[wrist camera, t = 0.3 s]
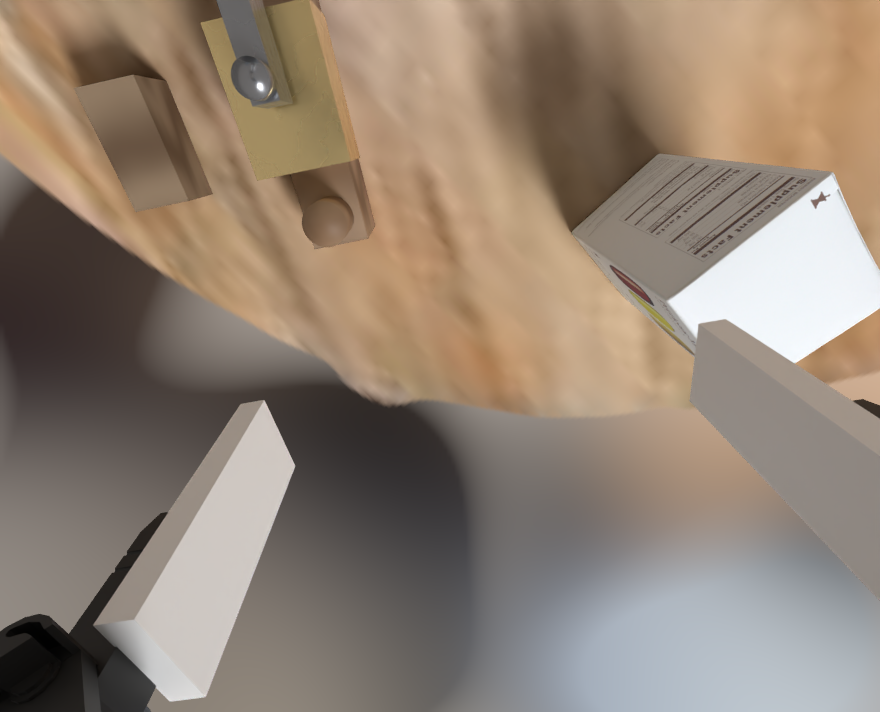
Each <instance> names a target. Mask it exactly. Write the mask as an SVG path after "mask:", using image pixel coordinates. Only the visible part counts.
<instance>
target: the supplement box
mask: <svg viewBox="0 0 880 712" xmlns="http://www.w3.org/2000/svg"><path fill="white" fill-rule="evenodd" d="M572 234H573V236H574V237H575V238H576V239H577V241H578V242H579V243H580V244H581V246H582V247H583V248H584V249H585V251H586V252H587V253H588V254H589V256H590V257H591V258H592V259H593V260H594V262H595V263H596V264H597V265H598V267H599V268H600V269H601V270H602V272H603V273H604V274H605V275H606V276H607V278H608V279H609V280H610V281H611V282H612V284H613V285H614V286H615V287H616V288H617V290H618V291H619V292H620V293H621V294H622V296H623V297H624V298H625V299H626V300H627V301H629V302H630V303H631V304H632V305H634V306H635V307H636V308H637V309H638V310H639V311H640V312H642V313H643V314H644V315H645V316H646V317H648V318H649V319H650V320H651V321H652V322H654V323H655V324H656V325H657V326H658V327H659V328H661V329H662V330H663V331H664V332H665V333H666V334H668V335H669V336H670V337H671V338H672V339H673V340H675V341H676V342H677V343H678V344H679V345H681V346H682V347H683V348H684V349H685V350H686V351H688V352H689V353H690V354H691V355H692V356H693V357H695V350H696V341H697V333H698V324H700V323H706V322H711V321H717V320H723V319H727V320H728V321H730V322H731V323H733V324H734V325H736V326H737V327H739V328H740V329H742V330H744V331H745V332H747V333H748V334H750V335H751V336H753V337H754V338H756V339H757V340H759V341H761V342H762V343H764V344H765V345H767V346H768V347H770V348H771V349H773V350H774V351H776V352H778V353H779V354H781V355H782V356H784V357H785V358H787V359H788V360H790V361H791V362H793V363H796V362H798V361H799V360H801V359H802V358H804V357H805V356H807V355H808V354H810V353H812V352H813V351H815V350H816V349H818V348H819V347H821V346H822V345H824V344H825V343H827V342H829V341H830V340H832V339H833V338H835V337H836V336H838V335H840V334H841V333H843V332H844V331H846V330H847V329H849V328H850V327H852V326H853V325H855V324H857V323H858V322H860V321H861V320H863V319H864V318H866V317H867V316H869V315H870V314H872V313H873V312H875V311H876V310H878V309H879V308H880V270H879V269H878V267H877V265H876V263H875V262H874V260H873V258H872V256H871V254H870V252H869V250H868V248H867V246H866V244H865V242H864V240H863V238H862V236H861V234H860V232H859V230H858V228H857V226H856V224H855V222H854V220H853V217H852V215H851V213H850V211H849V208H848V206H847V204H846V202H845V200H844V197H843V195H842V193H841V190H840V188H839V185H838V183H837V180H836V177H835V175H834V173H833V172H829V171H819V170H809V169H800V168H791V167H782V166H773V165H763V164H754V163H743V162H733V161H725V160H715V159H707V158H697V157H688V156H679V155H669V154H658V155H656V156H655V157H654V158H653V159H652V160H651V161H650V162H649V163H647V164H646V165H645V166H644V167H643V168H642V169H641V170H640V171H639V172H637V173H636V174H635V175H634V176H633V177H632V178H631V179H630V180H629V181H627V182H626V183H625V184H624V185H623V186H622V187H621V188H620V189H619V190H617V191H616V192H615V193H614V194H613V195H612V196H611V197H610V198H609V199H607V200H606V201H605V202H604V203H603V204H602V205H601V206H600V207H598V208H597V209H596V210H595V211H594V212H593V213H592V214H591V215H590V216H588V217H587V218H586V219H585V220H584V221H583V222H582V223H581V224H580V225H578V226H577V227H576V228H575V229H574V230H573V231H572Z"/></svg>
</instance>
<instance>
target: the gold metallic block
mask: <svg viewBox="0 0 880 712" xmlns="http://www.w3.org/2000/svg"><path fill="white" fill-rule="evenodd" d="M264 8H265V11H266V14H267V18H268V21H269V24H270V28H271V31H272V34H273V38H274V41H275V44H276V48H277V51H278V54H279V58H280V61H281V64H282V68H283V71H284V74H285V78H286V81H287V84H288V88H289V91H290V94H291V98H292V101H293V103H292V104H287V105H283V106H278V107H273V108H269V109H266V108H259V107H252V104H251V101H250V99H247V98H245V97H243V96H242V95H241V94H240V93H239V92H238V91H237V90H236V89H235V87H234V85H233V83H232V79H231V68H232V65H233V63H234V61H235V60H236V57H235V54H234V51H233V48H232V45H231V42H230V39H229V36H228V33H227V30H226V27H225V24H224V21H223V18H218V19H214V20H209V21H205V22H201V26H202V29H203V32H204V34H205V37H206V40H207V43H208V45H209V48H210V51H211V54H212V57H213V59H214V62H215V65H216V68H217V70H218V73H219V76H220V79H221V81H222V84H223V87H224V90H225V93H226V95H227V98H228V101H229V104H230V106H231V109H232V112H233V115H234V118H235V120H236V123H237V126H238V129H239V131H240V134H241V137H242V140H243V142H244V145H245V148H246V151H247V154H248V156H249V159H250V162H251V165H252V167H253V170H254V173H255V176H256V179H257V181H258V180H263V179H268V178H273V177H277V176H282V175H287V174H292V173H297V172H301V171H306V170H311V169H316V168H320V167H325V166H330V165H335V164H340V163H344V162H349V161H353V160H355V159H358V158H360V156H359V152H358V148H357V144H356V140H355V136H354V132H353V128H352V124H351V120H350V116H349V112H348V108H347V104H346V100H345V96H344V92H343V88H342V84H341V80H340V76H339V72H338V68H337V64H336V60H335V56H334V52H333V48H332V44H331V40H330V36H329V32H328V28H327V24H326V19H325V16H324V14H323V13H322V12H321V11H320V10H319V9H318V8H317V7H316V5H315V4H314V3H313V2H312V1H311V0H294V1H290V2H286V3H281V4H277V5H273V6H269V7H264Z"/></svg>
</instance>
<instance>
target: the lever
mask: <svg viewBox="0 0 880 712" xmlns="http://www.w3.org/2000/svg"><path fill="white" fill-rule="evenodd" d="M216 1H217V4H218V7H219V10H220V13H221V16H222V18H223V21H224V24H225V27H226V30H227V33H228V36H229V39H230V42H231V45H232V48H233V51H234V54H235V57H236V60H235V61H234V63H233V65H232V68H231V79H232V83H233V85H234V87H235V89H236V90H237V91H238V92H239V93H240V94H241V95H242V96H243V97H245V98H247V99H250V101H251V104H252V107H259V108H266V109H269V108H273V107H278V106H283V105H287V104H292V103H293V101H292V98H291V94H290V91H289V88H288V84H287V81H286V78H285V74H284V71H283V68H282V64H281V61H280V58H279V54H278V51H277V48H276V44H275V41H274V38H273V34H272V31H271V28H270V24H269V21H268V18H267V14H266V11H265V8H264V4H263V1H262V0H216Z"/></svg>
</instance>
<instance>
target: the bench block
mask: <svg viewBox="0 0 880 712" xmlns="http://www.w3.org/2000/svg"><path fill="white" fill-rule="evenodd" d="M74 90H75V92H76V94H77V96H78V98H79V100H80V102H81V104H82V106H83V108H84V110H85V112H86V114H87V116H88V118H89V120H90V122H91V124H92V126H93V128H94V130H95V132H96V134H97V136H98V138H99V140H100V142H101V144H102V146H103V148H104V150H105V152H106V154H107V156H108V158H109V160H110V162H111V164H112V166H113V168H114V170H115V172H116V174H117V176H118V178H119V180H120V182H121V184H122V186H123V188H124V190H125V192H126V194H127V196H128V198H129V200H130V202H131V204H132V206H133V208H134V210H135V212H138V211H143V210H147V209H152V208H157V207H162V206H167V205H171V204H176V203H181V202H186V201H190V200H194V199H197V198H200V197H204V196H207V195H211V194H213V193H212V191H211V188H210V186H209V184H208V181H207V179H206V176H205V174H204V171H203V169H202V167H201V164H200V162H199V159H198V157H197V155H196V152H195V150H194V147H193V145H192V142H191V140H190V138H189V135H188V133H187V130H186V128H185V125H184V123H183V121H182V118H181V116H180V113H179V111H178V108H177V106H176V104H175V101H174V99H173V96H172V94H171V91H170V89H169V87H168V84H167V82H166V81H164V80H158V79H153V78H148V77H143V76H138V75H129V76H125V77H120V78H116V79H112V80H107V81H103V82H99V83H94V84H90V85H86V86H81V87H77V88H74Z"/></svg>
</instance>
